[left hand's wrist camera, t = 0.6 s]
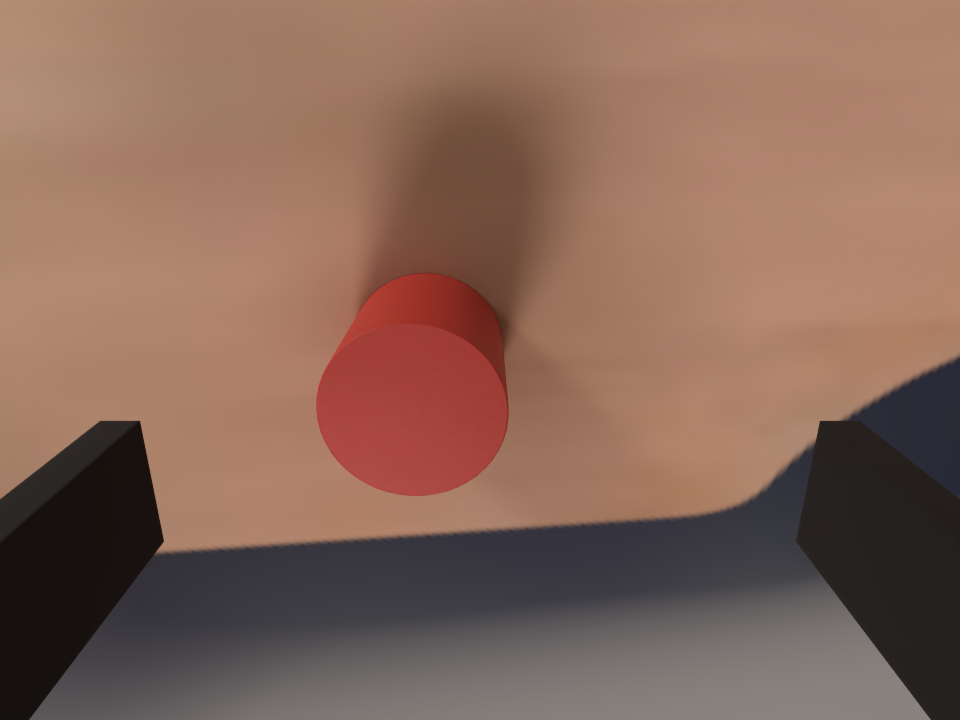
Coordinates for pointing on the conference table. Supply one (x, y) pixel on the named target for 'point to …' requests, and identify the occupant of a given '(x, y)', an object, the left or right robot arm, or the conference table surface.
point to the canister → (417, 388)
